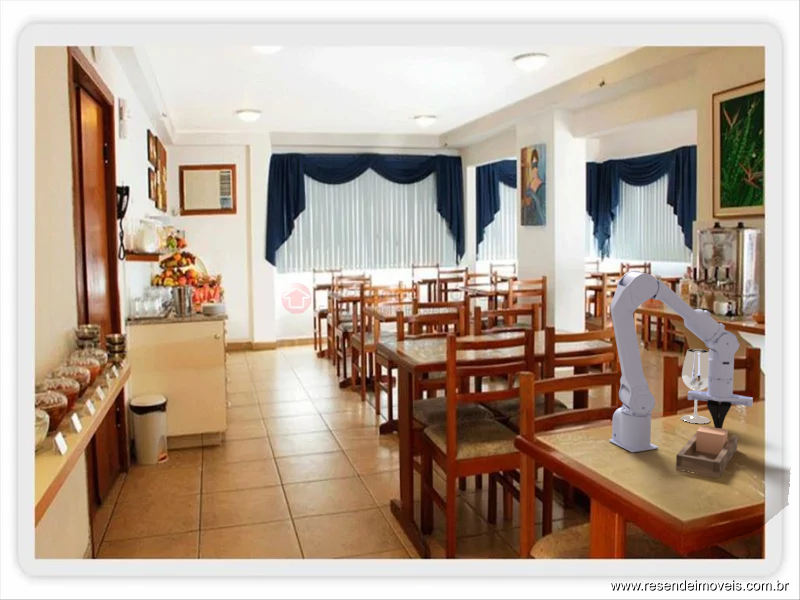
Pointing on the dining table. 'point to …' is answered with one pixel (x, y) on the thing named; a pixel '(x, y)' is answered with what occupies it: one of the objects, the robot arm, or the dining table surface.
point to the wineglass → (696, 378)
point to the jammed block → (711, 439)
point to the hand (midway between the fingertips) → (718, 430)
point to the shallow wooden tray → (705, 458)
